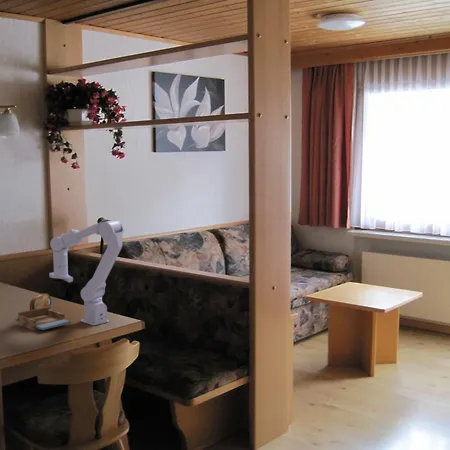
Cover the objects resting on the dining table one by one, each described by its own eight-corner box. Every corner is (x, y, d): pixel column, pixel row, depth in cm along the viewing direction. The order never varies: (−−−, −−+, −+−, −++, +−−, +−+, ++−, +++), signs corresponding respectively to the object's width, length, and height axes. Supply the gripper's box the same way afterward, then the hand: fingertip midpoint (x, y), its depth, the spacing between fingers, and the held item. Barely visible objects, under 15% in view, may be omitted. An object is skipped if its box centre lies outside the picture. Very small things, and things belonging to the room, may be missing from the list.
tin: (35, 319, 263) (34, 299, 262) (28, 318, 264) (27, 299, 263) (52, 310, 278) (51, 291, 277) (45, 309, 279) (45, 291, 277)
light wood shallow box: (64, 323, 257) (64, 311, 256) (34, 330, 247) (33, 318, 246) (48, 318, 265) (48, 306, 264) (18, 324, 255) (18, 312, 254)
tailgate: (63, 321, 256) (71, 323, 253) (35, 327, 247) (42, 329, 243) (63, 319, 256) (71, 321, 253) (35, 325, 247) (42, 327, 243)
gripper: (42, 263, 264) (43, 295, 266) (62, 268, 254) (63, 300, 256) (57, 261, 269) (58, 292, 271) (76, 266, 260) (77, 297, 261)
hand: (61, 296), depth 264 cm, fingers closed
